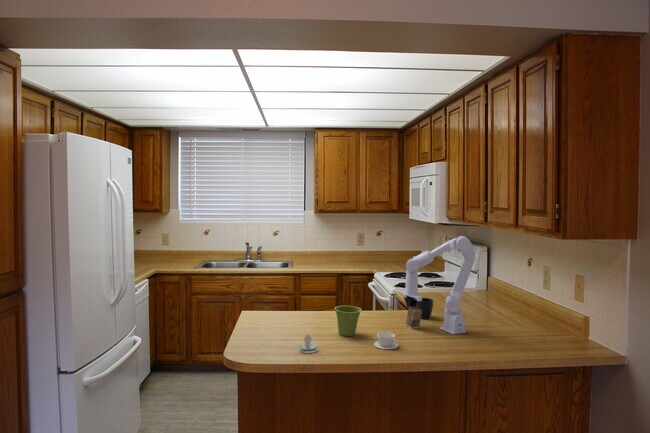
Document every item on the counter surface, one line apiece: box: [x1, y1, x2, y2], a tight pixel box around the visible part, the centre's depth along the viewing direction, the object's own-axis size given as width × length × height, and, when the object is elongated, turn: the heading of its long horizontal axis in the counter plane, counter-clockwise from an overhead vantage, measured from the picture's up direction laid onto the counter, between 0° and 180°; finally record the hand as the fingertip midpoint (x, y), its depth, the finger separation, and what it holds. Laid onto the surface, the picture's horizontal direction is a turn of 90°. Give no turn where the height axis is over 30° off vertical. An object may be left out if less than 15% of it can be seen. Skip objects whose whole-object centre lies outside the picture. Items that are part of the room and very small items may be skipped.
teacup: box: [373, 331, 399, 350], centre depth 170 cm, size 10×10×5 cm
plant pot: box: [334, 305, 362, 337], centre depth 183 cm, size 12×12×11 cm
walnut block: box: [405, 306, 422, 330], centre depth 195 cm, size 4×4×9 cm
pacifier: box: [298, 333, 318, 354], centre depth 161 cm, size 7×6×6 cm
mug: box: [416, 297, 434, 320], centre depth 214 cm, size 8×12×10 cm
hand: (410, 312), depth 198 cm, fingers closed
